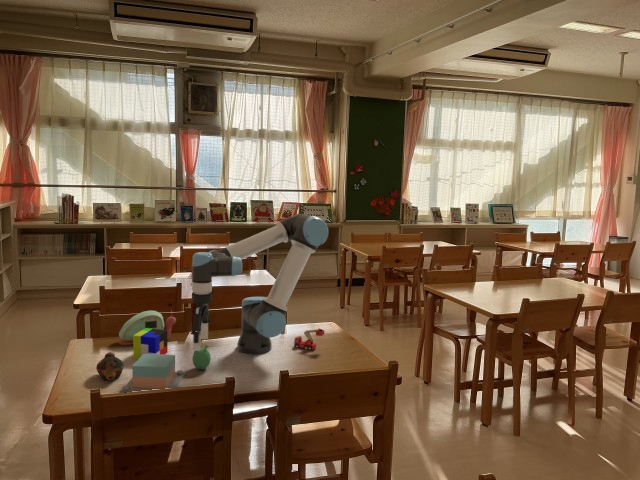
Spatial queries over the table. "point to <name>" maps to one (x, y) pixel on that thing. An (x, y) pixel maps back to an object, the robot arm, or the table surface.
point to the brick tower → (154, 373)
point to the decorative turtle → (110, 367)
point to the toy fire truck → (309, 342)
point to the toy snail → (144, 325)
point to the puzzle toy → (150, 342)
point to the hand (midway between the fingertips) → (200, 344)
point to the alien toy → (201, 358)
